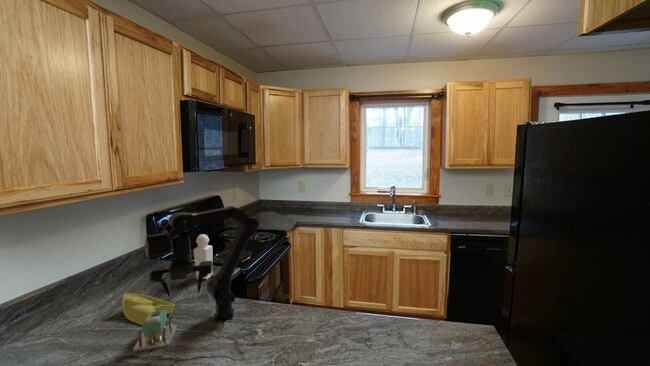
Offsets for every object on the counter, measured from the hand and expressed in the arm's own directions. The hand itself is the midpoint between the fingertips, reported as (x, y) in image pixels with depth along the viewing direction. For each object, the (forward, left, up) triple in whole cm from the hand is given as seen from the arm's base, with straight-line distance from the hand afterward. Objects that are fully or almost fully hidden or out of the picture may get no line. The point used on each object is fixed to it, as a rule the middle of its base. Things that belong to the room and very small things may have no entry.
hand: (184, 294), depth 100 cm
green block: (+2, -9, -10) cm, 13 cm away
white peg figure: (-46, 0, -13) cm, 48 cm away
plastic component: (-16, -17, -14) cm, 27 cm away
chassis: (+2, -9, -13) cm, 16 cm away
